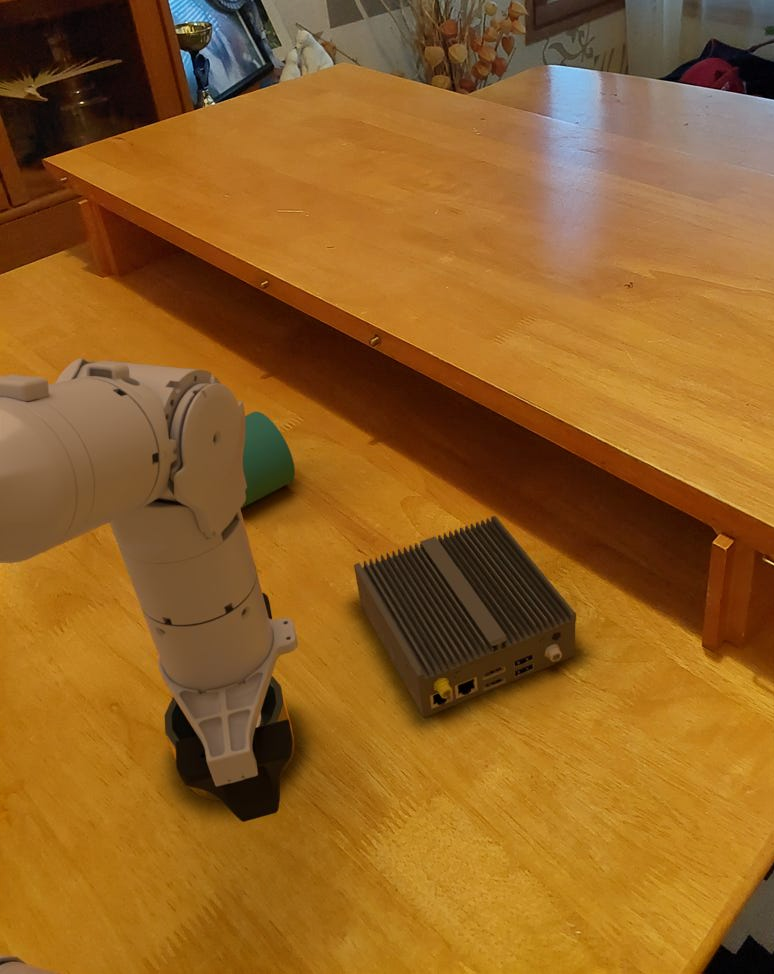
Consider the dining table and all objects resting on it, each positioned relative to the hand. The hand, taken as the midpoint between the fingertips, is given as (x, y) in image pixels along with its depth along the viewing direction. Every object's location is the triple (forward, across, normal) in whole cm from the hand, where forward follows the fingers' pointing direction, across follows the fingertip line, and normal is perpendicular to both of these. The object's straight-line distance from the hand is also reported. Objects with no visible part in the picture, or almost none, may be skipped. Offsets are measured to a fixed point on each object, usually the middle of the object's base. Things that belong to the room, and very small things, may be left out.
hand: (252, 756), depth 54 cm
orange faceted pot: (+10, +9, +2) cm, 14 cm away
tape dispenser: (+11, +44, 0) cm, 45 cm away
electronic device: (+11, +15, -17) cm, 25 cm away
